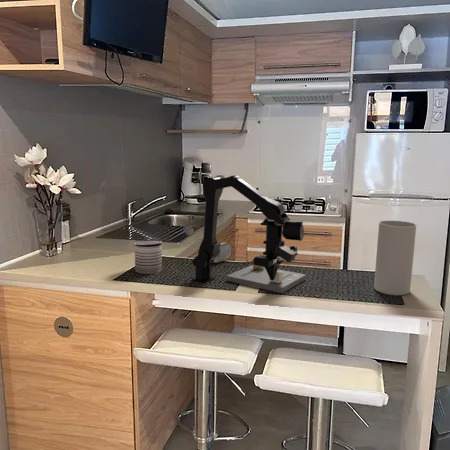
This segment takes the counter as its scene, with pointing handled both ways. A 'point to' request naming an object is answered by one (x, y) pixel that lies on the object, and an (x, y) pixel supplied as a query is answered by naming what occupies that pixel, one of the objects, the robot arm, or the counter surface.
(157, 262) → the can
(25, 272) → the counter surface
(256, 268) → the brass fader
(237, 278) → the fader panel
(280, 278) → the block
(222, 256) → the tin
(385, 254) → the cylinder vase
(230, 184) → the robot arm
